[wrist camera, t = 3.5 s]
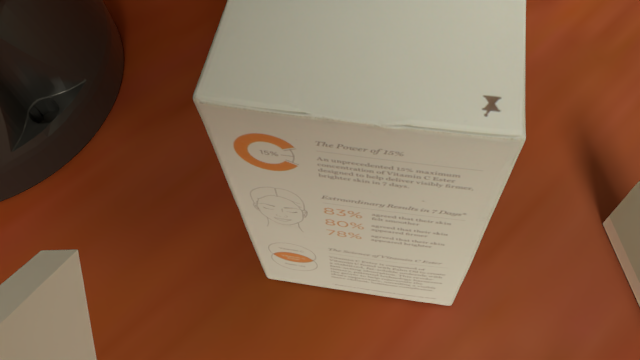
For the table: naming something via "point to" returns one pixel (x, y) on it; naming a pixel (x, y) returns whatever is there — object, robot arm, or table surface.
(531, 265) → the table surface
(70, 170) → the table surface
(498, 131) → the small box
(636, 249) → the tray
